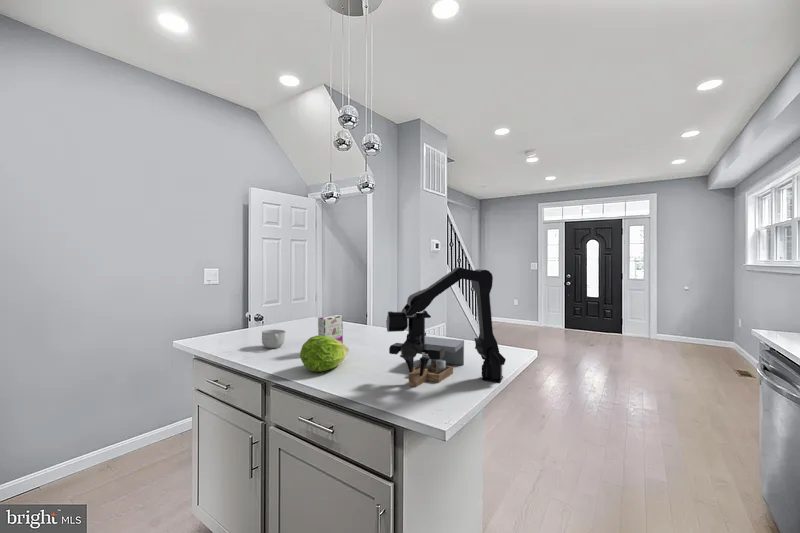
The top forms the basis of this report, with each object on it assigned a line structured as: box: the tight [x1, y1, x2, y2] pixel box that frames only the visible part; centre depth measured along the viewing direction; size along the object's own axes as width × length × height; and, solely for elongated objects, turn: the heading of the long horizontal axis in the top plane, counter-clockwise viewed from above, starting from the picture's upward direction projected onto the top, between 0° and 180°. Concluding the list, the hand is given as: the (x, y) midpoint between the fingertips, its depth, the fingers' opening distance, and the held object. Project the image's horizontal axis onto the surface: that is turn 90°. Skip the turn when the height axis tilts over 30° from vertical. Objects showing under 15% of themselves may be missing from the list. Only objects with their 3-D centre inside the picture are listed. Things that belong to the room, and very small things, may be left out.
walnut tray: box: [408, 359, 454, 388], centre depth 131 cm, size 12×20×6 cm, turn 147°
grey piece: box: [425, 335, 465, 366], centre depth 146 cm, size 18×12×10 cm
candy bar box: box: [317, 314, 344, 344], centre depth 167 cm, size 11×5×16 cm, turn 143°
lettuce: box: [299, 335, 350, 373], centre depth 144 cm, size 15×24×14 cm, turn 152°
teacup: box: [261, 329, 286, 349], centre depth 174 cm, size 14×11×8 cm
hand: (416, 375), depth 125 cm, fingers closed on walnut tray, 3 cm apart
